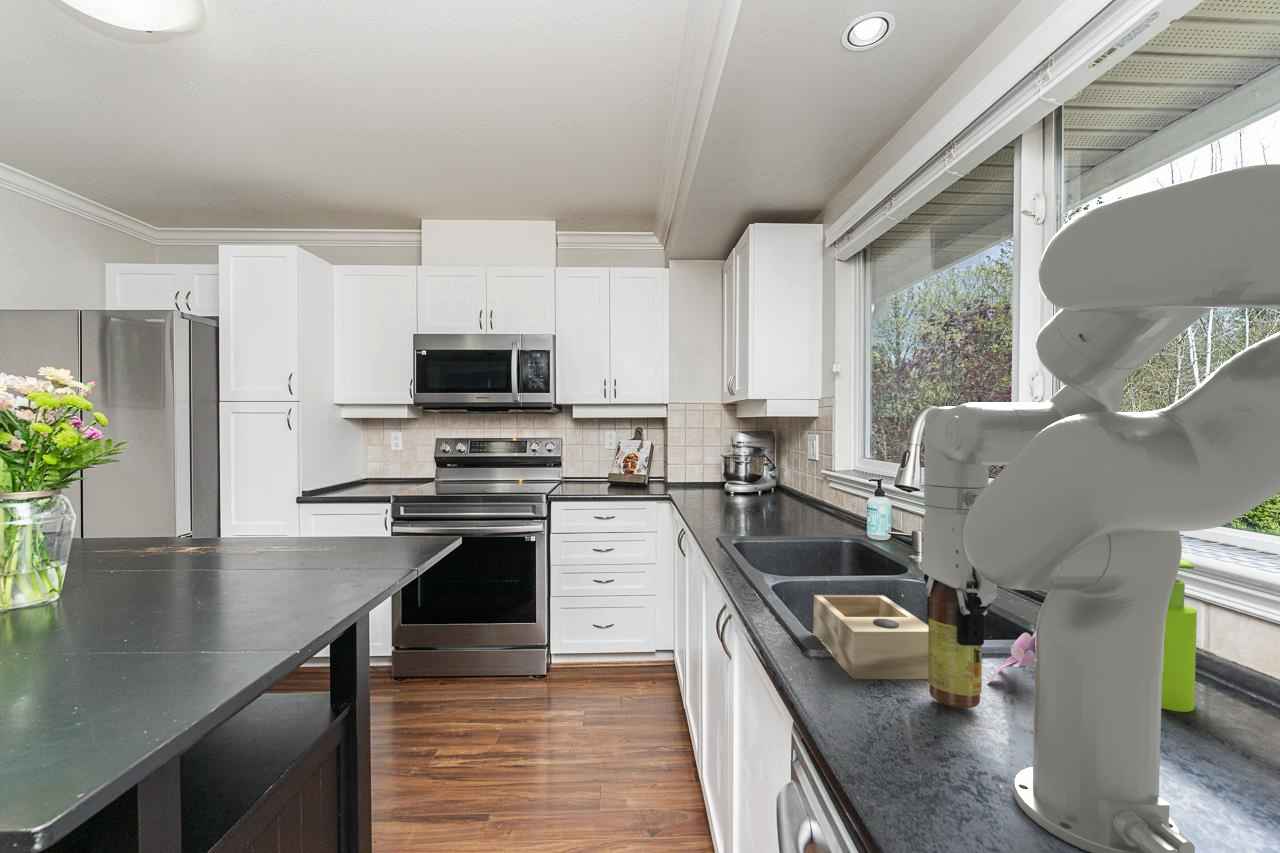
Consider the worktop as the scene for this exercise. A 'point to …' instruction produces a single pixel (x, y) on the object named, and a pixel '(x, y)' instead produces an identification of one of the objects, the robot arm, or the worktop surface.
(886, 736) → the worktop surface
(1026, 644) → the lily
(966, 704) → the sauce bottle
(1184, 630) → the soap dispenser
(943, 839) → the worktop surface
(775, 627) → the worktop surface
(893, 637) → the caddy
